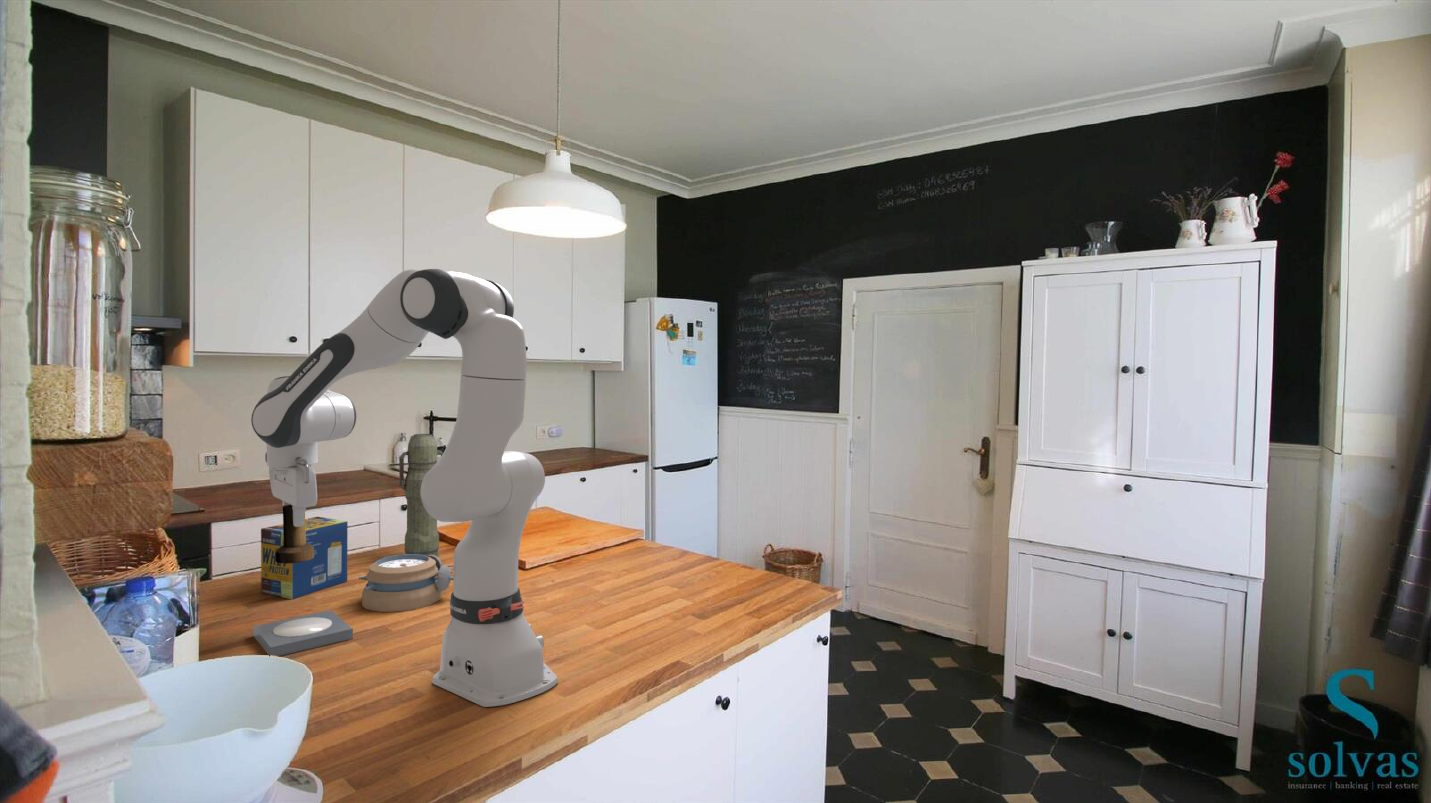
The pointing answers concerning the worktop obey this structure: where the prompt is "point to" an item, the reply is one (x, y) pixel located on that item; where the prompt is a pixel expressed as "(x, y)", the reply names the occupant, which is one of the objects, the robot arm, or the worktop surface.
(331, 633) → the slate plate
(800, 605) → the worktop surface
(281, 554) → the brown tall post-shaped piece
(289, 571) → the protein box
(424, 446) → the thermos
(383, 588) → the alarm clock
